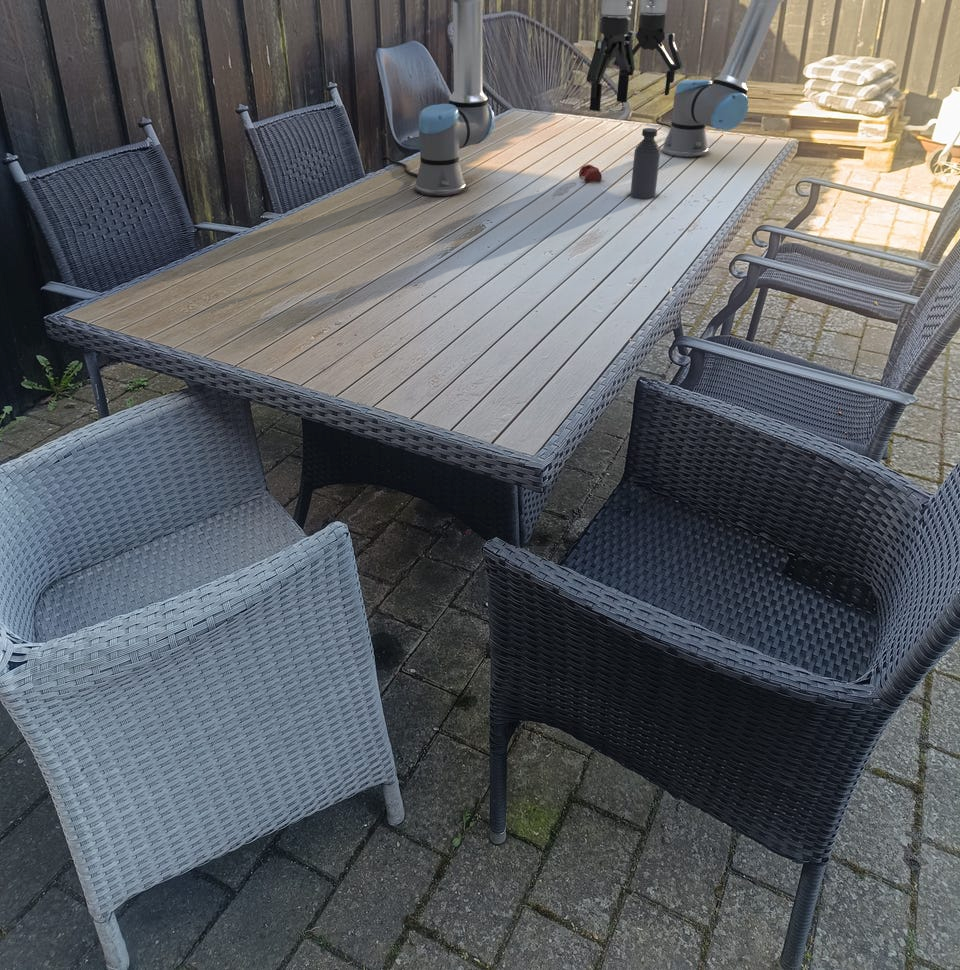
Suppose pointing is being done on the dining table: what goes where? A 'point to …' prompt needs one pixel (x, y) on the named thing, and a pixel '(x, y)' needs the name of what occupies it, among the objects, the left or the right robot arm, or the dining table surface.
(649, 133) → the cap
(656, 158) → the bottle
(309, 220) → the dining table surface
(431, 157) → the left robot arm
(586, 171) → the dental model
